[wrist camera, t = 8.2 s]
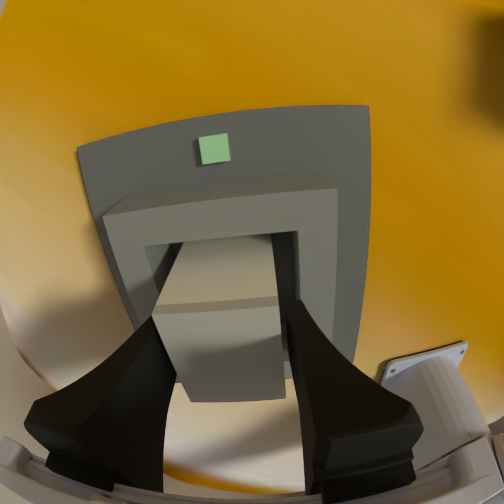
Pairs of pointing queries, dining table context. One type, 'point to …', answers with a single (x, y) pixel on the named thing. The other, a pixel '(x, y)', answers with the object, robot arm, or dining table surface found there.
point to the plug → (224, 320)
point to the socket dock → (242, 204)
